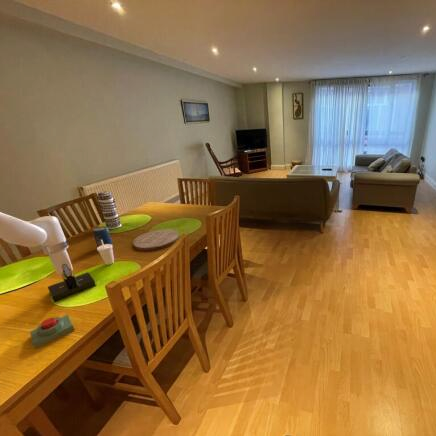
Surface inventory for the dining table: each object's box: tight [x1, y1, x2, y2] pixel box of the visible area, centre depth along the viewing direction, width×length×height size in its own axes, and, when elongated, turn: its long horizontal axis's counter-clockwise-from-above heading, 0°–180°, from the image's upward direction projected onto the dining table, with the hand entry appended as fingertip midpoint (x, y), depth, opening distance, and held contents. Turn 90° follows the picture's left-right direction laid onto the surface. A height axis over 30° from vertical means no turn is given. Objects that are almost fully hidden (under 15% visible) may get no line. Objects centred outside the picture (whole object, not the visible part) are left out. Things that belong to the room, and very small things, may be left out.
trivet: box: [132, 228, 180, 252], centre depth 148 cm, size 25×25×2 cm
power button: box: [40, 317, 57, 329], centre depth 82 cm, size 4×4×2 cm
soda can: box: [92, 226, 113, 248], centre depth 138 cm, size 7×7×12 cm
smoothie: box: [96, 240, 115, 266], centre depth 122 cm, size 6×6×14 cm
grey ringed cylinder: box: [96, 190, 122, 230], centre depth 163 cm, size 9×9×25 cm
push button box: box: [29, 314, 76, 350], centre depth 83 cm, size 10×8×4 cm
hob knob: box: [61, 272, 77, 286], centre depth 104 cm, size 4×4×5 cm
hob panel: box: [47, 271, 97, 303], centre depth 105 cm, size 14×10×3 cm
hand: (70, 282), depth 104 cm, fingers closed on hob knob, 3 cm apart
